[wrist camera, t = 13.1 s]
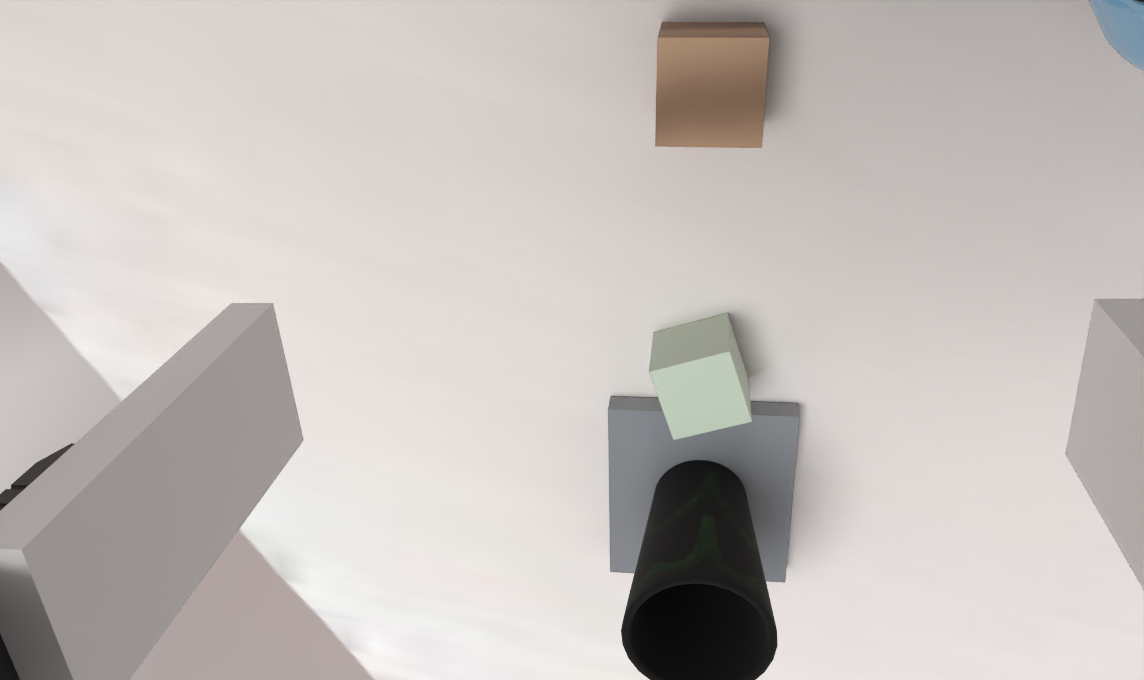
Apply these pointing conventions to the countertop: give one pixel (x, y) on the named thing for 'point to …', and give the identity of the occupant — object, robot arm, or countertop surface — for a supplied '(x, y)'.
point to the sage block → (700, 377)
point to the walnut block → (711, 84)
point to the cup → (699, 582)
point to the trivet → (745, 449)
